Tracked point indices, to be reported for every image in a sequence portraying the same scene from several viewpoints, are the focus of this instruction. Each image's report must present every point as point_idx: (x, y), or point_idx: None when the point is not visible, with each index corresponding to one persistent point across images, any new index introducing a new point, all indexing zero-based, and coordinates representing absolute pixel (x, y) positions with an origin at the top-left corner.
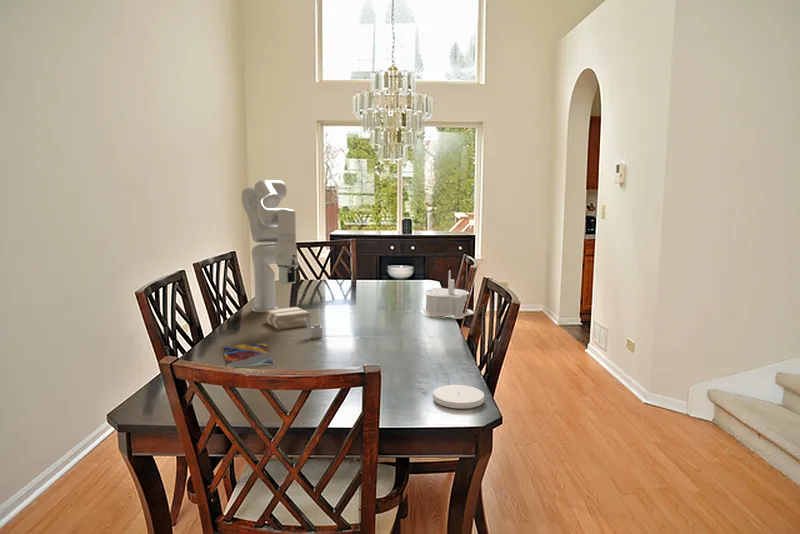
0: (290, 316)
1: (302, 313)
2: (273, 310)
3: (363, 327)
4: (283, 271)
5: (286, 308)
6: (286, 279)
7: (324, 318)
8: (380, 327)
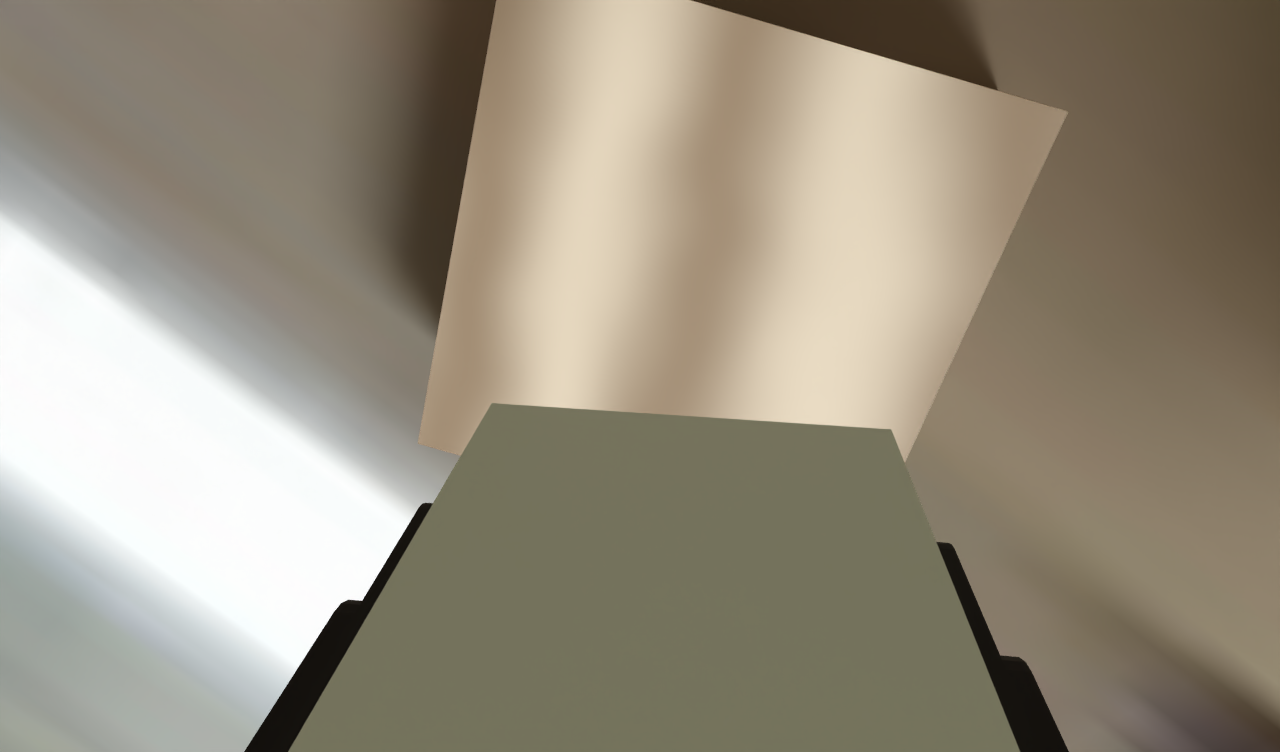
0: (473, 160)
1: (438, 349)
2: (941, 182)
3: (90, 634)
4: (534, 742)
5: (887, 412)
6: (443, 504)
7: None
8: (17, 710)
